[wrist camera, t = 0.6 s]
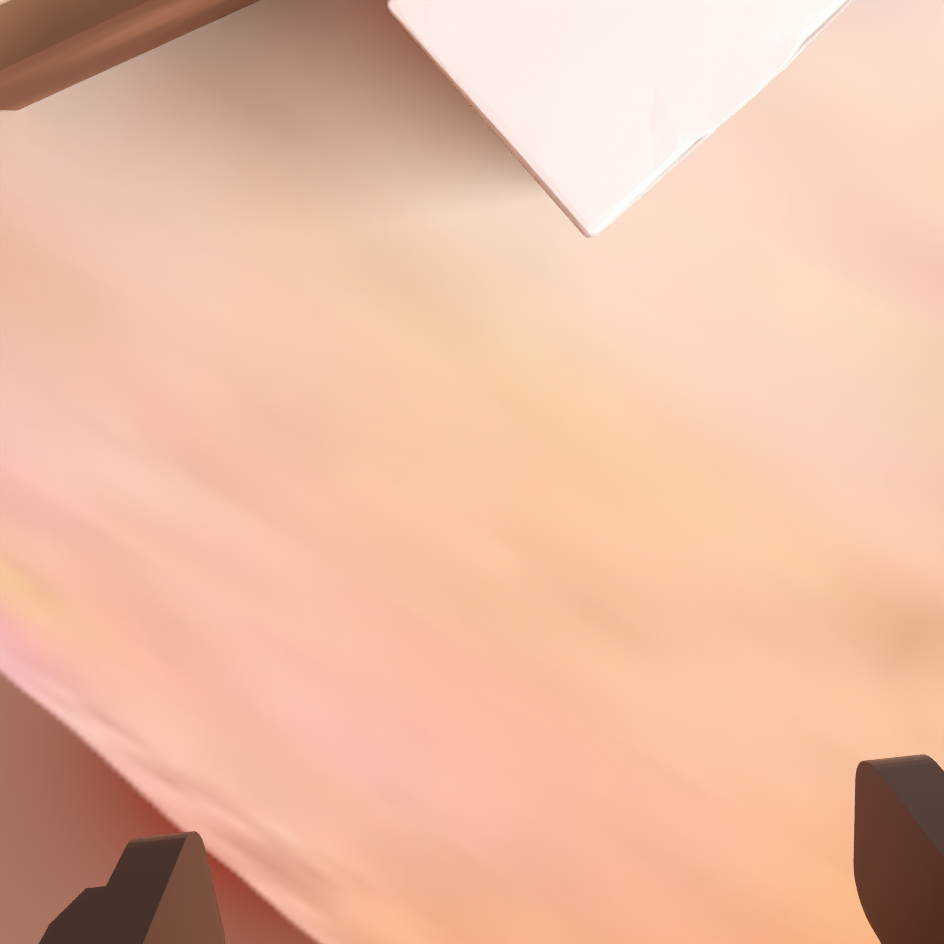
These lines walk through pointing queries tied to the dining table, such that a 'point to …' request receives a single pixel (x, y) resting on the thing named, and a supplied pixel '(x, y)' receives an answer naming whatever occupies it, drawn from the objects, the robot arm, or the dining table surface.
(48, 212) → the dining table surface
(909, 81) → the dining table surface
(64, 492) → the dining table surface
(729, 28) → the small box
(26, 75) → the plinth
